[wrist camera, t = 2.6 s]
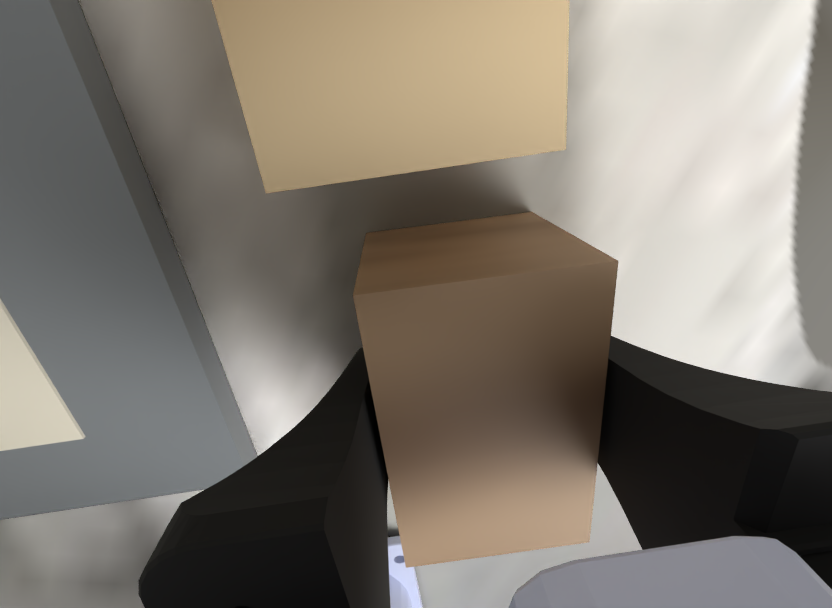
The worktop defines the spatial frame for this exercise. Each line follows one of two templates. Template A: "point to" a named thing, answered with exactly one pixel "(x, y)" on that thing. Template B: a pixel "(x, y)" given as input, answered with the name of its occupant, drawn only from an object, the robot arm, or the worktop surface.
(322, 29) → the oak block
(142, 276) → the board
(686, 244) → the worktop surface
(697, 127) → the worktop surface
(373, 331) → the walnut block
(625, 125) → the worktop surface
